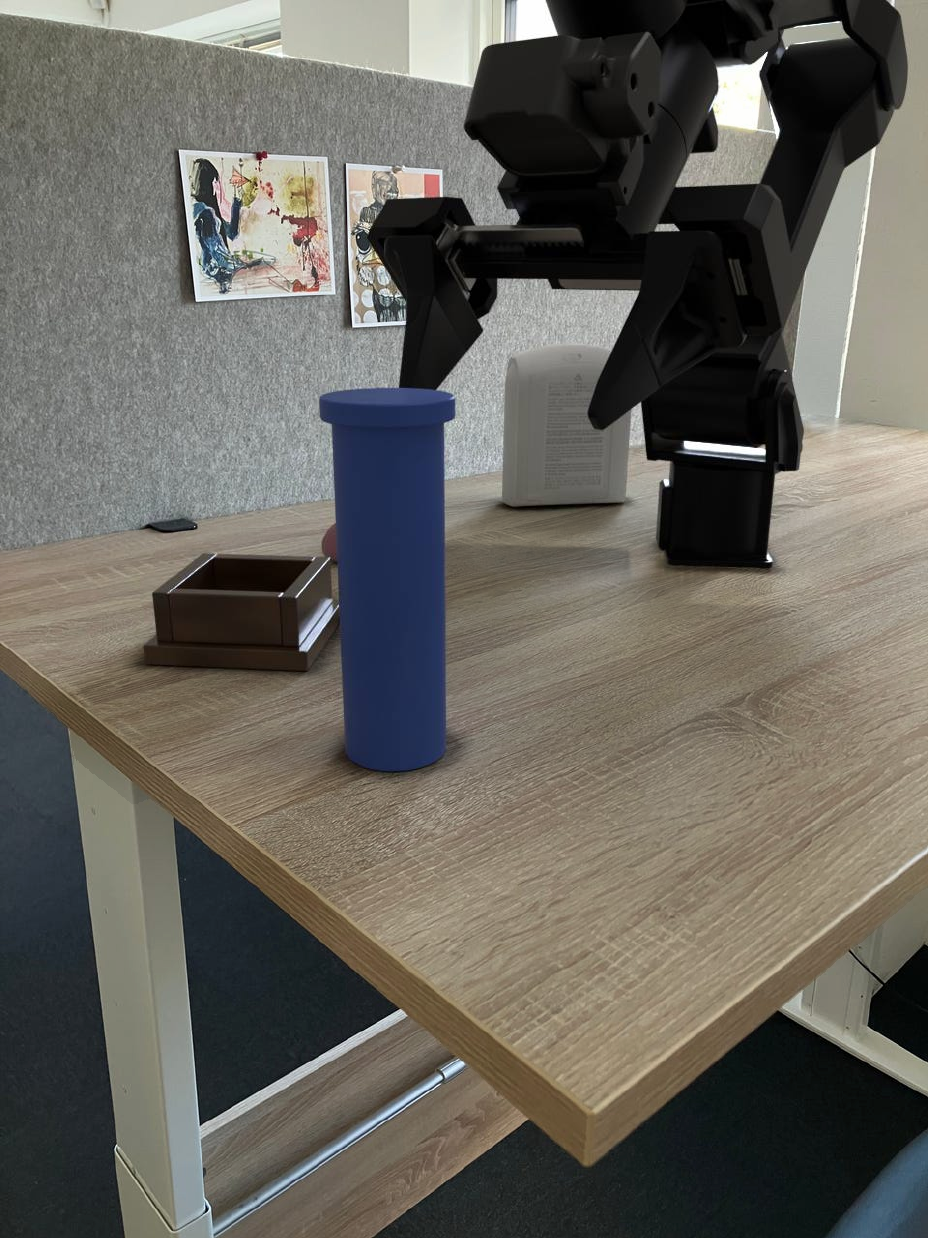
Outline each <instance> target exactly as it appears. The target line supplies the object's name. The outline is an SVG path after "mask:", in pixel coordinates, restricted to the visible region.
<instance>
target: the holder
mask: <svg viewBox="0 0 928 1238" xmlns="http://www.w3.org/2000/svg"><path fill="white" fill-rule="evenodd" d="M331 563H332V561H331V560H330V557H325V556H308V555H307V556H303V555H302V556H301V555H271V554H240V553H239V554H237V553H236V554H235V553H203V552H202V554H200V555H199V556H198V557H196V558H195V559H193V561H191V562H190V563H188V564H187V565H186V566H185V567H183V568H182V569H181V570H179V571H178V572H177V573H176V574H174V575H173V576H172V577H170V578H169V579H168V580H166V581H165V582H164V583H163V584H161V585H160V586H159V587H157V588H156V589H155V590H154V591H152V592H151V596H152V597H151V598H152V607H153V615H154V616H153V617H154V624H155V635H153V636H152V637H151V638H150V639H149V640H148V641H147V642H146V643H144V644H143V647H142V648H143V657H144V664H145V665H154V666H177V667H179V666H180V667H200V668H201V667H204V668H227V669H251V670H252V669H253V670H274V671H275V670H276V671H278V670H279V671H300V672H301V671H302V672H307V671H309V669H310V668H311V666H312V665H313V663H314V662H315V660H316V659H317V657H319V654H320V653H321V652H322V650H323V649H324V647H325V645H326V644H327V642H328V641H329V640H330V638H331V636H332V635H333V633H334V632H335V630H336V629H337V627H338V626H339V625H340V612H339V598H336V599H335V598H333V585H332V583H333V582H332V564H331Z"/></svg>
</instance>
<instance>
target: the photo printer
mask: <svg viewBox="0 0 928 1238" xmlns="http://www.w3.org/2000/svg"><path fill="white" fill-rule="evenodd" d="M612 349H613V348H612ZM612 349H611V348H608V347H604V346H599V345H594V344H587V343H576V342H564V343H552V344H545V345H540V346H536V347H532V348H529V349H526V350H523V351H520V352H517V353H515V354H513V355H510V357H509V360H508V362H507V367H506V374H505V380H504V398H503V399H504V400H503V401H504V405H503V406H504V407H503V412H504V413H503V442H502V443H503V444H502V475H501V476H502V477H501V478H502V479H501V480H502V481H501V501H502V503H504V505H507V506H510V507H514V508H515V507H517V508H518V507H531V506H532V507H535V506H560V505H561V506H562V505H563V506H564V505H585V504H589V505H590V504H621V503H624V502H625V500H626V496H627V488H628V487H627V485H628V470H629V469H628V467H629V452H630V439H631V424H632V423H631V422H632V411H633V410H632V409H633V408H632V409H631V410H630V411H628V412H627V413H626V414H624V415H623V416H622V417H620V418H619V419H618V420H616V421H615V422H614V423H612V424H611V425H610V426H608V427H607V428H606V429H604V430H596V429H594V428H593V427H592V424H591V422H590V420H589V418H588V414H587V412H588V408H589V405H590V402H591V399H592V396H593V393H594V390H595V387H596V384H597V381H598V379H599V377H600V374H601V372H602V370H603V368H604V366H605V364H606V362H607V359H608V357H609V355H610V353H611V351H612Z"/></svg>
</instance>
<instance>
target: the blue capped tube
mask: <svg viewBox="0 0 928 1238" xmlns="http://www.w3.org/2000/svg"><path fill="white" fill-rule="evenodd" d="M318 407H319V409H318V410H319V418H320V420H321V421H322V422H324V423H326V424H329V425H331V445H332V466H333V490H334V491H333V493H334V515H335V516H334V517H335V523H336V542H337V563H336V564H337V565H336V566H337V584H338V585H337V586H338V587H337V588H338V599H339V612H340V623H339V633H340V635H339V636H340V656H341V657H340V658H341V679H342V680H341V681H342V682H341V683H342V703H343V727H344V730H343V731H344V750H345V751H344V752H345V754H346V756H347V757H348V759H349V760H350V761H352V762H353V763H354V764H356V765H358V766H360V767H362V768H366V769H369V770H375V771H379V772H404V771H405V772H406V771H411V770H412V771H413V770H416V769H420V768H421V769H422V768H424V767H426V766H429V765H431V764H434V763H435V762H437V761H438V760H440V759H441V758H442V757H443V756H444V754H445V752H446V750H447V657H446V656H447V655H446V654H447V651H446V650H447V648H446V647H447V646H446V645H447V643H446V637H447V635H446V493H445V492H446V491H445V490H446V489H445V488H446V487H445V484H446V483H445V482H446V481H445V477H446V476H445V475H446V474H445V472H446V471H445V469H446V468H445V467H446V466H445V424H447V423H448V422H451V421H453V420H455V418H456V396H455V395H454V394H453V393H451V392H448V391H444V390H438V389H437V390H430V389H416V388H399V387H370V388H352V389H342V390H336V391H335V390H334V391H329V392H326V393H324V394H321V395H320V396H319V398H318Z"/></svg>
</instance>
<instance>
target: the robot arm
mask: <svg viewBox="0 0 928 1238" xmlns="http://www.w3.org/2000/svg"><path fill="white" fill-rule="evenodd" d="M545 3H546V6H547V9H548V11H549V14H550V15H549V16H550V17H551V20H552V23H553V26H554V29H555V32H556V35H551V36H544V37H537V38H527V39H521V40H513V41H506V42H500V43H493V44H489V45H487V46H486V47H484V48H483V49H482V50H481V55H480V58H479V62H478V67H477V70H476V74H475V79H474V83H473V87H472V89H471V90H472V91H471V93H470V98H469V103H468V107H467V111H466V115H465V118H464V122H463V130H464V132H465V134H466V135H467V136H468V137H469V138H470V139H471V140H472V141H478V143H479V144H481V145H482V147H483V148H484V149H485V150H486V151H487V152H488V153H489V155H491V157H492V158H493V159H494V160H495V161H496V162H497V163H498V164H499V166H500V167H501V168H502V169H503V170H505V171H504V173H503V174H502V177H501V179H500V181H499V183H498V184H497V186H496V189H497V192H498V194H499V196H500V198H501V200H502V202H503V205H504V206H505V209H506V210H516V213H517V215H518V220H517V221H516V224H488V225H484V224H483V225H476V223H475V221H474V220H473V217H472V215H471V213H470V211H469V209H468V208H467V205H466V204H465V201H464V199H463V198H462V197H454V196H453V197H452V196H431V197H407V198H406V197H405V198H387V199H386V200H385V202H384V204H383V206H382V207H381V209H380V210H379V213H378V214H377V215H376V218H375V219H374V220H373V223H372V224H371V226H370V227H369V230H368V233H367V235H366V239H367V241H368V243H369V244H370V246H371V247H372V250H373V251H374V252H375V254H376V256H377V257H378V259H379V261H380V262H381V264H382V265H383V267H384V269H385V270H386V272H387V274H388V275H389V277H390V278H391V280H392V282H393V283H394V285H395V287H396V288H397V290H398V292H399V293H400V295H401V297H402V298H403V300H404V301H405V306H406V307H405V324H404V325H405V326H404V335H403V344H402V354H401V361H400V362H401V363H400V370H399V371H400V372H399V381H398V388H416V389H430V390H438V389H439V388H440V386H441V385H442V384H443V383H444V381H445V380H446V379H447V377H448V376H449V375H450V374H451V373H452V371H453V370H454V369H455V367H456V366H457V365H458V364H459V363H460V361H461V360H462V359H463V357H464V356H465V355H466V354H467V353H468V352H469V350H470V349H471V348H472V347H473V345H474V344H475V343H476V342H477V340H478V339H479V338H480V337H481V335H482V334H483V332H484V328H483V327H482V324H481V323H480V321H479V320H480V319H482V318H483V317H485V316H487V315H488V314H490V312H491V310H492V308H493V306H494V303H495V302H496V300H497V298H498V280H547V281H548V283H549V286H550V288H551V290H565V291H566V290H568V291H569V290H575V291H629V292H630V291H632V292H633V291H634V292H636V291H637V292H638V294H637V296H636V299H635V300H634V302H633V305H632V307H631V309H630V311H629V313H628V315H627V318H626V319H625V322H624V324H623V326H622V328H621V330H620V332H619V334H618V336H617V338H616V341H615V343H614V344H613V347H612V351H611V353H610V355H609V357H608V359H607V362H606V364H605V366H604V368H603V370H602V372H601V374H600V377H599V379H598V381H597V384H596V387H595V390H594V393H593V396H592V399H591V402H590V405H589V408H588V412H587V414H588V418H589V420H590V422H591V424H592V427H593V428H594V429H596V430H604V429H606V428H607V427H608V426H610V425H611V424H612V423H614V422H615V421H616V420H618V419H619V418H620V417H622V416H623V415H624V414H626V413H627V412H628V411H630V410H631V409H634V408H635V407H636V406H638V405H639V404H640V407H641V409H640V410H641V418H642V426H643V427H642V428H643V435H644V447H645V455H646V457H645V458H646V460H647V461H649V462H650V461H651V462H657V461H662V462H669V469H668V471H669V473H668V478H666V479H665V478H664V479H661V480H660V481H659V486H658V498H657V499H658V500H657V502H658V503H657V517H656V533H655V540H656V543H657V547H658V548H659V549H660V551H663V553H664V557H665V560H666V564H667V565H668V566H674V567H699V568H700V567H703V568H732V569H733V568H734V569H735V568H736V569H765V570H766V569H767V570H768V569H772V568H773V563H774V560H773V559H772V557H771V555H770V553H769V552H768V550H769V548H768V547H769V539H770V532H771V531H770V529H771V522H772V521H771V519H772V512H773V511H772V510H773V499H774V490H775V480H776V475H777V474H779V473H782V472H784V473H786V472H798V471H799V470H800V465H801V457H802V456H801V455H802V452H803V448H804V444H803V441H804V435H805V429H804V424H803V419H802V416H801V410H800V407H799V403H798V397H797V394H796V390H795V386H794V381H793V380H794V378H793V373H792V369H791V365H790V361H789V355H788V352H787V348H786V343H785V340H784V336H783V331H784V329H785V326H786V324H787V321H788V319H789V316H790V313H791V311H792V308H793V305H794V302H795V300H796V298H797V295H798V292H799V290H800V287H801V284H802V281H803V280H804V275H805V274H806V271H807V268H808V266H809V263H810V260H811V257H812V255H813V252H814V250H815V247H816V244H817V241H818V239H819V236H820V234H821V231H822V228H823V226H824V223H825V221H826V217H827V215H828V212H829V210H830V207H831V204H832V201H833V200H834V197H835V194H836V191H837V188H838V186H839V184H840V180H841V178H842V175H843V173H844V170H845V169H846V168H847V167H849V166H850V165H852V164H854V163H855V162H856V161H857V160H859V159H861V158H862V157H863V156H865V155H866V154H867V153H869V152H870V151H872V150H873V149H875V148H876V147H877V146H879V144H880V143H881V141H882V140H883V139H882V138H883V137H884V135H885V134H886V133H885V132H886V130H887V128H888V126H889V124H890V122H891V121H892V118H893V116H894V112H895V111H897V110H900V109H901V107H902V105H903V102H904V100H905V96H906V92H907V85H908V77H909V76H908V75H909V74H908V72H909V63H908V61H909V60H908V53H907V48H906V40H905V36H904V35H905V34H904V27H903V21H902V16H901V14H900V12H899V10H898V9H896V8H895V7H894V6H893V5H892V4H891V3H890V2H889V1H888V0H545ZM833 23H834V24H835V23H841V25H842V30H843V31H844V33H845V34H846V35H847V36H848V37H841V38H831V39H824V40H815V41H806V42H796V43H791V44H789V45H788V46H787V47H786V46H785V43H784V40H783V36H784V33H785V30H788V29H789V30H790V29H794V28H801V27H808V26H818V25H826V24H833ZM762 57H763V59H762V62H761V65H760V68H759V73H758V76H759V79H760V83H761V87H762V89H763V92H764V96H765V98H766V101H767V105H768V107H769V110H770V113H771V117H772V123H773V128H774V132H775V137H776V141H775V143H774V146H773V148H772V151H771V153H770V155H769V158H768V160H767V162H766V166H765V167H764V170H763V173H762V175H761V177H760V180H759V183H743V184H742V183H741V184H739V183H738V184H717V185H694V186H693V185H691V186H677V184H678V181H679V179H680V177H681V175H682V173H683V170H684V168H685V166H686V164H687V163H688V159H689V157H690V155H691V154H692V155H693V154H709V153H711V154H712V153H715V152H716V151H717V149H718V147H719V126H718V123H717V119H716V114H715V110H714V103H715V101H716V98H717V97H718V94H719V90H720V85H719V82H720V81H719V74H718V73H719V72H718V69H722V68H723V69H724V68H732V67H743V66H751V65H753V64H756V62H758V61H759V60H760V59H761V58H762ZM658 225H674V226H675V227H676V229H677V230H656V229H657V227H658ZM631 411H632V410H631ZM762 446H764V448H760V447H762Z"/></svg>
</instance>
